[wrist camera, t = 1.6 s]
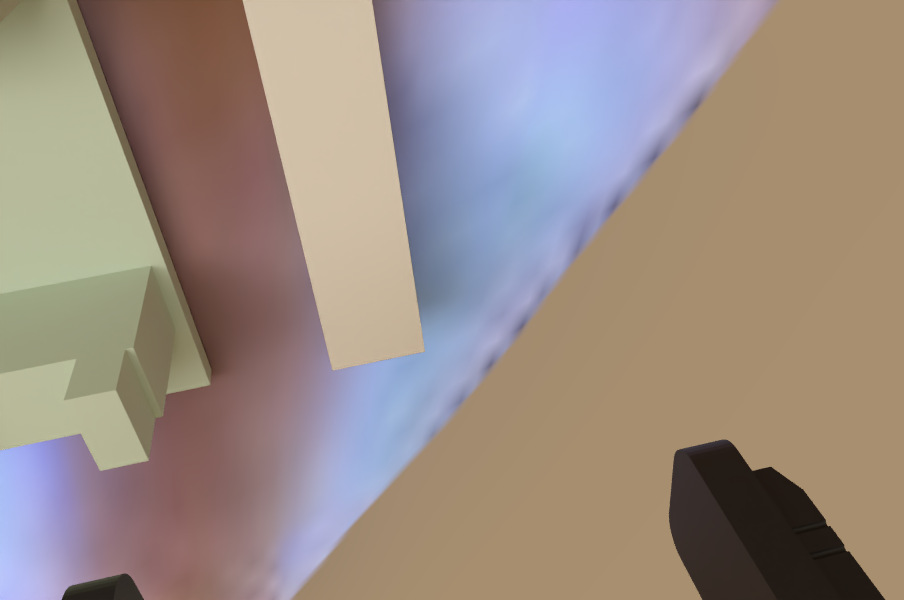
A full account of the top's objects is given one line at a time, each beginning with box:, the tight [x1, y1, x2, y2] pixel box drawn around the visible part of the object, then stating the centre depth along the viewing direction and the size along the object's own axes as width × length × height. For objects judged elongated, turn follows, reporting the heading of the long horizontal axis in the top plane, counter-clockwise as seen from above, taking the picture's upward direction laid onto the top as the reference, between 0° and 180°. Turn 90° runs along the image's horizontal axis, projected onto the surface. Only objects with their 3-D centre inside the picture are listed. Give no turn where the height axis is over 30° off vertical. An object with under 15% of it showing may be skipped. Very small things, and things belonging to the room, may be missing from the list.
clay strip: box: [243, 0, 425, 370], centre depth 26 cm, size 18×4×4 cm, turn 6°
